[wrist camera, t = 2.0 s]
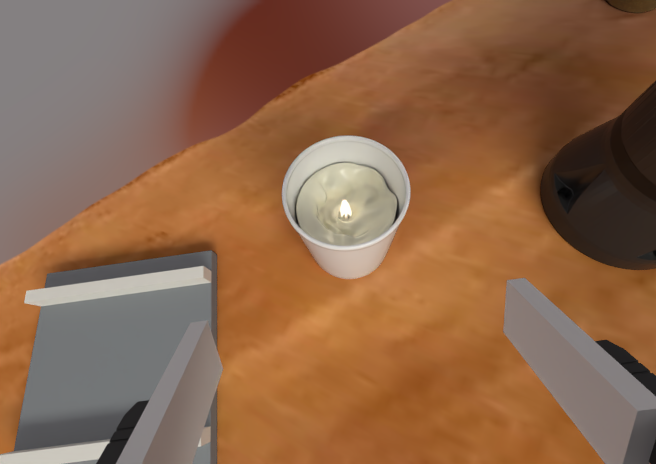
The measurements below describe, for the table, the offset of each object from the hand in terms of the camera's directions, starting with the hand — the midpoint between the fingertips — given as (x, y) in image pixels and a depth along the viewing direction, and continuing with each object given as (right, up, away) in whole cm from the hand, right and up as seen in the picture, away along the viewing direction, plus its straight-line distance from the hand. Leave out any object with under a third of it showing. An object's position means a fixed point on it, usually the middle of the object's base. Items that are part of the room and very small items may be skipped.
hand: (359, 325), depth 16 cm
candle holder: (+1, +3, +23) cm, 23 cm away
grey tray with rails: (-21, -9, +20) cm, 30 cm away
